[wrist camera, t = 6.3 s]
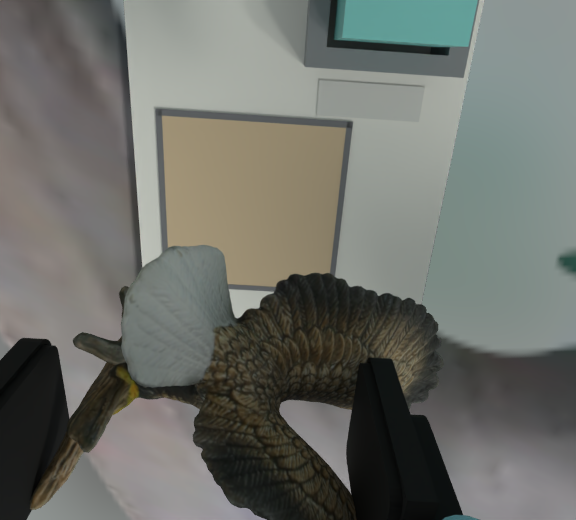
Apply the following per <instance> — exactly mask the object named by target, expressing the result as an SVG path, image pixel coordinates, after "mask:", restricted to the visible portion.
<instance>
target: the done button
mask: <svg viewBox="0 0 576 520" xmlns="http://www.w3.org/2000/svg"><path fill="white" fill-rule="evenodd" d="M477 2H478V0H337V8H336V18H335V29H334V40H343V41H357V42H372V43H386V44H400V45H414V46H428V47H468V46H469V41H470V36H471V31H472V26H473V21H474V16H475V11H476V7H477Z"/></svg>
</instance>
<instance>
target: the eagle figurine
mask: <svg viewBox="0 0 576 520" xmlns="http://www.w3.org/2000/svg"><path fill="white" fill-rule="evenodd" d="M119 296H120V301H121V304H122V307H123V312H122V322H121V328H122V336H121V338H120V339H119V340H118V341H111V340H107V339H103V338H100V337H97V336H95V335H92V334H88V333H83V332H82V333H80V334H78V335H77V336H76V337H75V338H74V339H73V343H74V345H75V346H76V347H77V348H79V349H81V350H84V351H86V352H89V353H91V354H93V355H95V356H97V357H98V358H100V359H102V360H104V361H106V362H107V363H106V364H105V366H104V368H103V369H102V371H101V373H100V374H99V376H98V377H97V379H96V380H95V381H94V383H93V384H92V385H91V387H90V389H89V390H88V392H87V393H86V395H85V397H84V398H83V400H82V402H81V404H80V406H79V407H78V409H77V410H76V411H75V412H74V414H73V415H72V416H71V418H70V419H69V421H68V424H67V432H66V434H65V436H64V438H63V440H62V442H61V444H60V446H59V449H58V451H57V452H56V454H55V456H54V458H53V459H52V461H51V463H50V465H49V466H48V468H47V469H46V471H45V472H44V474H43V476H42V478H41V479H40V481H39V483H38V485H37V487H36V489H35V490H34V492H33V494H32V497H31V501H30V509H31V510H34V509H35V510H36V509H38V508H41V507H42V506H43V505H45V504H46V503H47V502H48V501H49V500H50V499H51V498H52V496H53V495H54V494H55V493H56V491H57V490H58V489H59V488H60V487H61V486H62V485H63V484H64V483H65V482H66V481H67V479H68V477H69V476H70V474H71V473H72V471H73V470H74V468H75V465H76V464H77V462H78V460H79V458H80V456H81V455H82V454H83V452H88V453H89V452H90V451H91V450H92V449H93V448H94V447H95V445H96V444H97V442H98V441H99V439H100V437H101V436H102V434H103V432H104V430H105V428H106V425H107V424H108V422H109V420H110V418H111V416H112V415H114V414H116V413H118V412H119V411H120V410H122V409H123V408H125V407H126V406H128V405H129V404H130V403H131V402H132V401H133V400H134V399H135V398H138V397H140V398H144V399H158V398H164V397H165V398H169V399H172V400H178V401H180V402H183V403H187V404H191V405H193V406H195V407H197V408H198V409H200V411H199V414H198V415H197V416H196V417H195V420H194V427H195V432H194V434H193V442H194V443H195V445H196V446H198V447H201V448H202V449H203V451H202V453H201V456H202V459H203V460H204V461H205V463H206V464H207V467H208V470H209V471H210V472H211V473H212V475H213V478H214V480H215V482H216V483H217V484H218V485H219V486H221V488H222V490H223V492H224V494H225V496H226V497H227V499H228V500H229V502H230V503H231V504H232V505H234V506H237V507H239V508H248V509H250V510H251V511H252V512H253V513H254V514H255V515H257V516H259V517H262V518H264V519H267V520H356V511H355V506H354V502H353V498H352V495H351V494H350V492H349V490H348V489H347V488H346V486H345V485H344V484H343V483H342V481H341V480H340V479H339V478H338V476H337V475H336V474H335V472H334V471H333V470H332V469H331V467H330V466H329V465H328V464H327V463H326V462H325V461H324V460H323V459H322V458H321V457H320V456H319V455H318V453H317V452H316V451H314V450H313V449H312V448H311V447H310V446H309V445H308V444H307V443H306V442H305V441H304V440H303V439H302V438H301V437H300V436H299V435H298V434H297V433H296V432H295V431H294V430H293V429H292V428H291V427H290V426H289V425H288V424H287V422H286V421H285V420H284V418H283V417H282V416H281V415H280V412H279V408H280V404H281V402H284V401H286V400H304V401H309V402H321V403H326V404H330V405H334V406H337V407H340V408H345V409H351V410H352V407H353V401H354V394H355V388H356V381H357V375H358V368H359V364H360V363H367V360H368V358H369V357H372V358H390V359H392V360H393V363H394V366H395V369H396V372H397V375H398V378H399V381H400V384H401V387H402V390H403V394H404V397H405V400H406V403H407V406H408V409H410V406H411V403H420V402H424V401H426V400H427V398H428V391H429V390H431V389H434V388H436V387H437V385H438V382H439V380H438V377H437V374H436V372H437V371H439V370H440V369H442V367H443V360H442V358H441V357H440V355H439V354H437V353H436V352H435V350H436V349H437V348H438V347H439V346H440V345H441V342H442V341H441V338H439V337H438V336H437V335H436V332H437V331H438V324H437V322H435V320H434V318H433V316H432V315H431V314H429V313H426V307H425V306H423V305H421V304H416V303H415V300H413V299H411V298H406V299H405V300H402V299H401V298H399V297H397V296H393V295H392V294H390V293H384V294H381V295H380V296H378V295H377V293H376V292H375V291H373V290H366V289H364V288H363V287H362V286H360V287H359V286H353V287H350V286H349V285H348V284H347V282H346V280H344V279H342V278H340V279H339V278H336V277H335V276H334V275H333V274H330V273H325V274H320V273H311V274H308V275H305V276H304V275H300V274H292V275H290V276H289V277H288V279H286V280H281V281H279V282H277V284H276V289H275V291H274V293H272V294H268V295H266V296H265V297H263V298H262V300H261V302H260V307H259V308H258V309H254V308H250V309H247V310H246V311H245V312H244V313H243V315H242V316H241V317H240V318H235V316H234V313H233V310H232V304H231V300H230V292H229V289H228V283H227V272H226V264H225V257H224V255H223V253H222V252H221V251H220V250H219V249H218V248H214V247H212V246H208V245H198V246H189V247H187V246H182V247H181V246H171V247H168V248H167V249H166V250H165V251H163V252H162V253H161V255H160V256H159V257H158V258H156V259H154V260H152V261H151V262H149V263H147V264H146V265H145V266H144V267H143V268H142V269H141V270H140V272H139V274H138V276H137V278H136V280H135V281H134V282H133V283H132V284H131V286H130V287H127V286H125V287H123V288H122V289H121V291H120V293H119Z"/></svg>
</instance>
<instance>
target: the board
mask: <svg viewBox="0 0 576 520" xmlns="http://www.w3.org/2000/svg"><path fill="white" fill-rule="evenodd" d="M484 1H485V0H478V2H477V7H476V11H475V16H474V21H473V26H472V31H471V36H470V41H469V46H468V47H428V46H414V45H400V44H386V43H372V42H357V41H343V40H334V29H335V18H336V8H337V0H124V13H125V28H126V42H127V56H128V70H129V84H130V98H131V113H132V127H133V141H134V155H135V169H136V184H137V198H138V212H139V226H140V240H141V254H142V268H143V267H144V266H145V265H146V264H147V263H149V262H151V261H152V260H154V259H156V258H158V257H159V256H160V255H161V253H162V252H163V251H165V250H166V249H167V248H168V247H171V246H181V247H182V246H187V247H189V246H198V245H208V246H212V247H214V248H218V249H219V250H220V251H221V252H222V253H223V255H224V257H225V264H226V272H227V283H228V289H229V292H230V300H231V304H232V310H233V313H234V316H235V318H240V317H241V316H242V315H243V313H244V312H245V311H246V310H247V309H250V308H254V309H258V308H259V307H260V302H261V300H262V298H263V297H265V296H266V295H268V294H272V293H274V291H275V289H276V284H277V282H279V281H281V280H286V279H288V277H289V276H290V275H292V274H300V275H304V276H305V275H308V274H311V273H320V274H325V273H330V274H333V275H334V276H335V277H336V278H339V279H340V278H342V279H344V280H346V282H347V284H348V285H349V286H350V287H353V286H359V287H360V286H362V287H363V288H364V289H366V290H373V291H375V292H376V293H377V295H378V296H380V295H381V294H384V293H390V294H392V295H393V296H397V297H399V298H401V299H402V300H405V299H406V298H411V299H413V300H415V303H416V304H422V299H423V295H424V290H425V285H426V280H427V275H428V270H429V266H430V261H431V256H432V251H433V246H434V241H435V237H436V232H437V227H438V222H439V217H440V212H441V208H442V203H443V198H444V193H445V189H446V183H447V178H448V174H449V169H450V164H451V160H452V154H453V150H454V145H455V140H456V136H457V131H458V126H459V121H460V116H461V111H462V107H463V101H464V97H465V91H466V87H467V83H468V78H469V72H470V68H471V63H472V58H473V54H474V49H475V44H476V39H477V34H478V30H479V24H480V20H481V15H482V10H483V5H484Z"/></svg>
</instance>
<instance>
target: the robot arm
mask: <svg viewBox="0 0 576 520" xmlns="http://www.w3.org/2000/svg"><path fill="white" fill-rule="evenodd" d="M68 421H69V414H68V408H67V401H66V395H65V389H64V383H63V377H62V371H61V365H60V359H59V353H58V349H57V347H56V346H51V343H50V341H49V340H47V339H33V338H22V339H20V340H19V341H18V342H17V343H16V344H15V345H14V346H13V347H12V348H11V349H10V350H9V351H8V353H7V354H6V355H5V356H4V357H3V358H2V359H1V360H0V520H26V519H27V518H28V516H29V514H30V512H31V509H30V501H31V497H32V494H33V492H34V490H35V489H36V487H37V485H38V483H39V481H40V479H41V478H42V476H43V474H44V472H45V471H46V469H47V468H48V466H49V465H50V463H51V461H52V459H53V458H54V456H55V454H56V452H57V451H58V449H59V446H60V444H61V442H62V440H63V438H64V436H65V434H66V432H67V424H68ZM346 455H347V465H348V473H349V480H350V487H351V495H352V498H353V502H354V506H355V511H356V520H479V519H476V518H473V517H470V516H466V515H463V513H462V511H461V508H460V505H459V502H458V500H457V497H456V494H455V492H454V489H453V486H452V483H451V481H450V478H449V475H448V473H447V470H446V467H445V464H444V462H443V459H442V456H441V454H440V451H439V448H438V446H437V443H436V440H435V437H434V435H433V432H432V429H431V427H430V424H429V422H428V420H427V418H426V417H425V416H424V415H410V412H409V409H408V406H407V403H406V400H405V397H404V394H403V390H402V387H401V384H400V381H399V378H398V375H397V372H396V369H395V366H394V363H393V360H392V359H390V358H372V357H369V358H368V360H367V363H360V364H359V368H358V375H357V381H356V388H355V394H354V401H353V407H352V414H351V420H350V427H349V433H348V440H347V449H346Z"/></svg>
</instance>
